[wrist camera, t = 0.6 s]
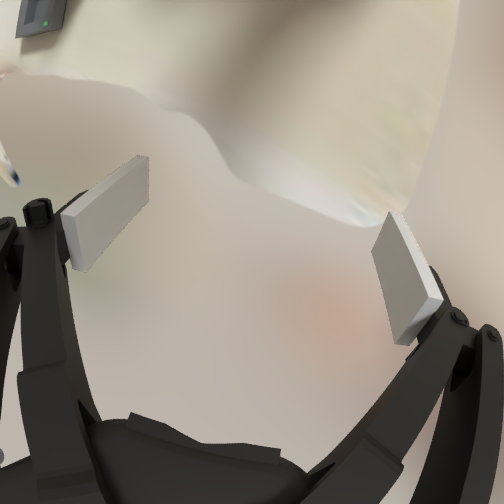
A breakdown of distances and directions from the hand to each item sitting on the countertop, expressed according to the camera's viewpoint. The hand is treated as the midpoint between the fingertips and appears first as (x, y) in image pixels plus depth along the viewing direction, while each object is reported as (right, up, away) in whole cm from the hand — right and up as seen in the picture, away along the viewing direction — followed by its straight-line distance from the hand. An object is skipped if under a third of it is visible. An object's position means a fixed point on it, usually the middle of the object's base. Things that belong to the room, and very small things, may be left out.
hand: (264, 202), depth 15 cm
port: (-36, +40, +11) cm, 55 cm away
